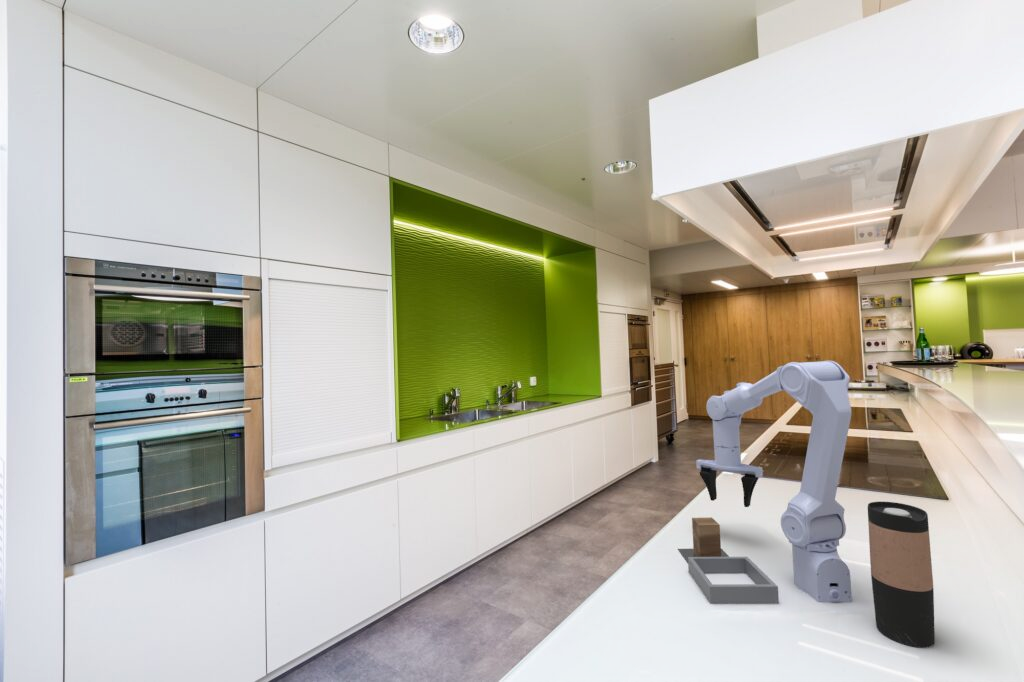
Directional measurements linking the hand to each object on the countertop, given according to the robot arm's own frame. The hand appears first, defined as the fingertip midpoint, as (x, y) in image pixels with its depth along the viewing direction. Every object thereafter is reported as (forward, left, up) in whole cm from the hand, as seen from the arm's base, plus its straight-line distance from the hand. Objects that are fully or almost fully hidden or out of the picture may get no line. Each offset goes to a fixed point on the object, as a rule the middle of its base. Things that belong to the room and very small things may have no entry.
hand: (730, 502), depth 107 cm
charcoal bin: (-21, +9, -10) cm, 25 cm away
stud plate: (-9, +9, -10) cm, 16 cm away
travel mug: (-34, -13, -10) cm, 38 cm away
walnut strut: (-9, +9, -9) cm, 16 cm away
